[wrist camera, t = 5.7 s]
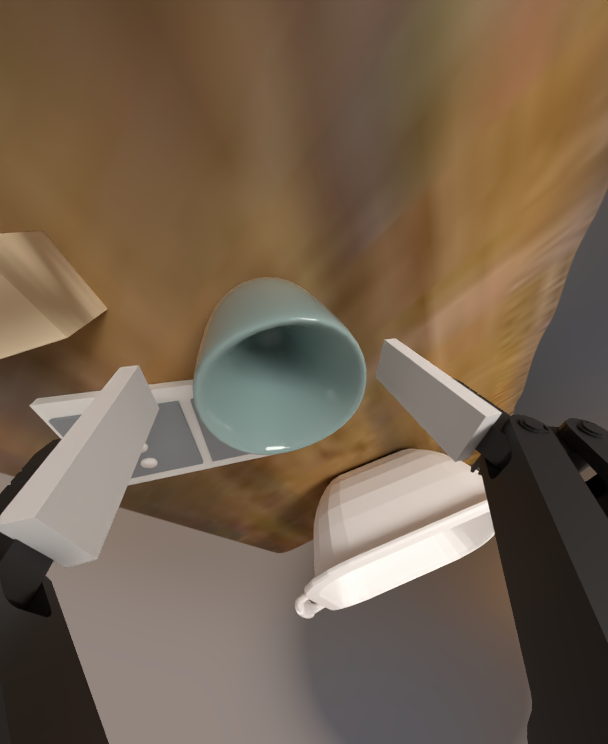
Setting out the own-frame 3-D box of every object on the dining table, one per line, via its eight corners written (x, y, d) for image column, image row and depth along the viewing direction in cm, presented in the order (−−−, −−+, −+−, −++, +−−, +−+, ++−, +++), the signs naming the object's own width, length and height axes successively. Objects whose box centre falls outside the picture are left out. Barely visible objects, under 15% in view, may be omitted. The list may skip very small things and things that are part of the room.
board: (37, 398, 16) (24, 410, 15) (294, 366, 21) (297, 374, 20) (112, 482, 23) (107, 494, 22) (294, 444, 28) (296, 453, 27)
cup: (239, 371, 20) (243, 474, 12) (190, 287, 15) (142, 363, 7) (319, 342, 20) (374, 421, 12) (296, 250, 15) (362, 283, 7)
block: (-44, 255, 11) (-169, 271, 8) (44, 230, 12) (-39, 235, 8) (39, 330, 14) (-26, 367, 11) (108, 308, 14) (67, 337, 11)
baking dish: (472, 393, 32) (581, 472, 22) (443, 479, 49) (496, 546, 39) (253, 480, 30) (262, 611, 20) (303, 538, 47) (321, 624, 37)
